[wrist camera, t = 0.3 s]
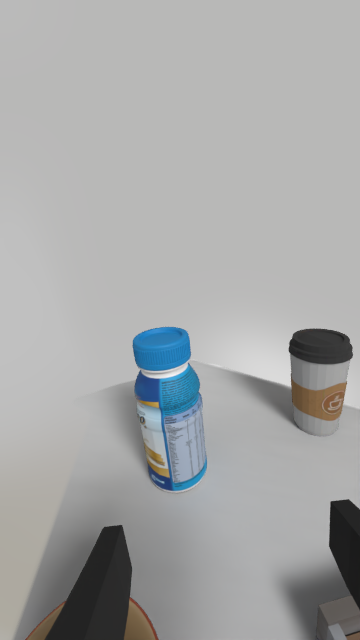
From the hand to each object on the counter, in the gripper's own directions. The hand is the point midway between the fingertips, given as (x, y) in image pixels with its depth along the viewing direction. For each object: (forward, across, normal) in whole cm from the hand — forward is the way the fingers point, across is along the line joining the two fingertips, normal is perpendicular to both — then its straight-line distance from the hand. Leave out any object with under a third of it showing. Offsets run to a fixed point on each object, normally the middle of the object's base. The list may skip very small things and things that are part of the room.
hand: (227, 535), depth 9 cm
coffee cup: (+29, -19, +20) cm, 40 cm away
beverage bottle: (+23, +4, +20) cm, 31 cm away
